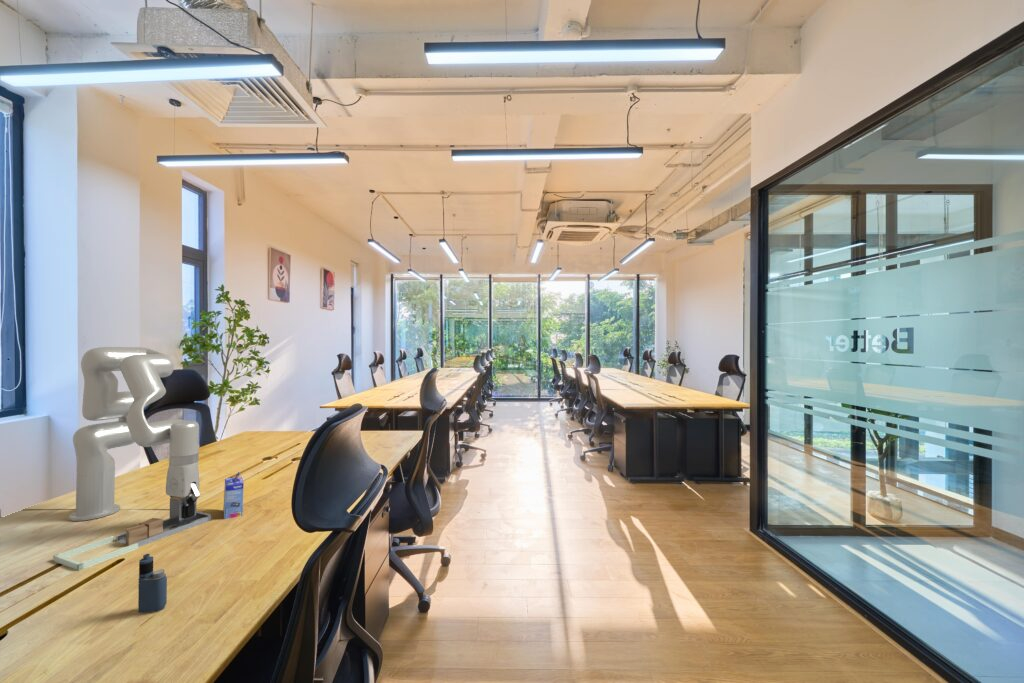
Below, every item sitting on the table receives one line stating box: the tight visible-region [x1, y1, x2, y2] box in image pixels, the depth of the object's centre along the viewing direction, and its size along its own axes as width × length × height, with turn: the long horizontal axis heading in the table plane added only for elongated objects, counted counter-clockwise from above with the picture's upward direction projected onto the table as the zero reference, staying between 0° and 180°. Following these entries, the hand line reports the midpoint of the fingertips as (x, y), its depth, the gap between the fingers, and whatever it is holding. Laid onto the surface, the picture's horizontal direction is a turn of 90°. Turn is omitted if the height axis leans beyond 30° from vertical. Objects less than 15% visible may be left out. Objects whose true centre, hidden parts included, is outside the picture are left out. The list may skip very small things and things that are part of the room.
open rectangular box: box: [115, 510, 212, 548], centre depth 128 cm, size 11×20×3 cm, turn 158°
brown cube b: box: [125, 524, 148, 546], centre depth 120 cm, size 4×4×4 cm
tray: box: [52, 535, 139, 571], centre depth 113 cm, size 13×12×2 cm
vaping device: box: [137, 553, 168, 614], centre depth 90 cm, size 3×5×12 cm, turn 95°
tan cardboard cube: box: [138, 517, 164, 537], centre depth 125 cm, size 4×4×4 cm
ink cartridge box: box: [222, 471, 245, 520], centre depth 142 cm, size 10×6×14 cm, turn 37°
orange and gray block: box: [169, 493, 198, 526], centre depth 133 cm, size 5×5×8 cm
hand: (183, 515), depth 133 cm, fingers closed on orange and gray block, 5 cm apart
